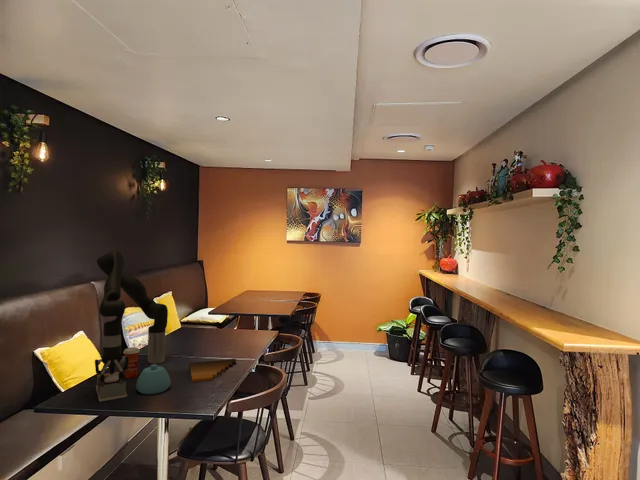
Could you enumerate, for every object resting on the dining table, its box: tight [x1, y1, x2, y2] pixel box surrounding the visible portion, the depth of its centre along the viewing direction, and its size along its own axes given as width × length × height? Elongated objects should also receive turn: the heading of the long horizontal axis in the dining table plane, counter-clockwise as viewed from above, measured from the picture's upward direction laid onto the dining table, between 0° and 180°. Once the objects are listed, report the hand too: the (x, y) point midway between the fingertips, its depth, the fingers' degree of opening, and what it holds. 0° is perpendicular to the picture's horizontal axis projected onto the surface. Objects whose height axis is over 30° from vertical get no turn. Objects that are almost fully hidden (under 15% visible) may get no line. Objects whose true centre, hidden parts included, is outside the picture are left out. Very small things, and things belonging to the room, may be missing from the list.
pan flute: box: [188, 358, 237, 383], centre depth 217 cm, size 25×3×25 cm
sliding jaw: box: [96, 371, 122, 387], centre depth 193 cm, size 2×10×5 cm, turn 123°
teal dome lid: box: [135, 363, 171, 395], centre depth 191 cm, size 15×15×12 cm
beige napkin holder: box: [95, 381, 128, 402], centre depth 187 cm, size 19×11×6 cm, turn 33°
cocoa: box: [104, 367, 119, 385], centre depth 186 cm, size 10×6×12 cm, turn 5°
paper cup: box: [123, 347, 141, 379], centre depth 208 cm, size 8×8×14 cm
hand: (111, 380), depth 186 cm, fingers closed on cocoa, 6 cm apart
